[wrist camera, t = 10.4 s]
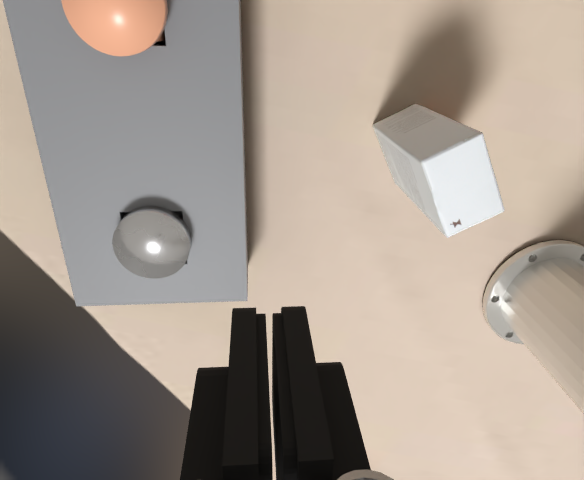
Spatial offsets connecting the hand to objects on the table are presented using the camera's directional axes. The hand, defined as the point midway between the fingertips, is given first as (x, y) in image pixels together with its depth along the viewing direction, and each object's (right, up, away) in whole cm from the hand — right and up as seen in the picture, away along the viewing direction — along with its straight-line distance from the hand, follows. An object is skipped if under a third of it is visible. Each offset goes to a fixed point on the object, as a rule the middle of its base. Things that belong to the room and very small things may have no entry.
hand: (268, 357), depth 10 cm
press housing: (-10, +13, +25) cm, 30 cm away
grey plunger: (-11, +5, +28) cm, 30 cm away
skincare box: (+10, +11, +28) cm, 32 cm away
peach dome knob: (-10, +19, +20) cm, 29 cm away
